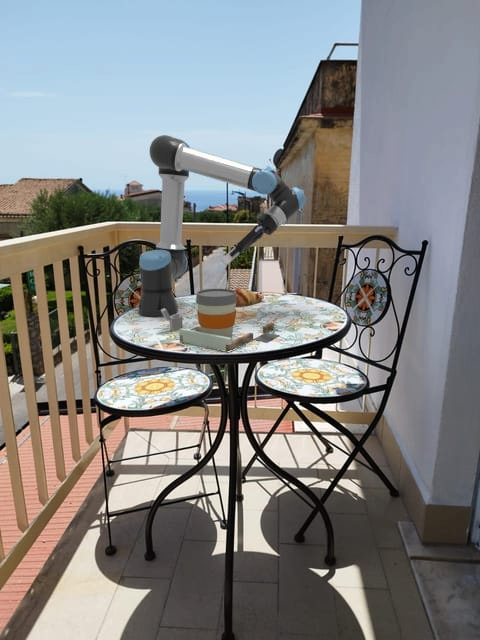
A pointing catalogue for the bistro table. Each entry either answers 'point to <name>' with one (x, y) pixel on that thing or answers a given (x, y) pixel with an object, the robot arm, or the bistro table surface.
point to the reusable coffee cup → (217, 311)
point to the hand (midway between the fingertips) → (223, 262)
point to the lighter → (173, 320)
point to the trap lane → (246, 337)
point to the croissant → (247, 297)
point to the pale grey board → (205, 339)
